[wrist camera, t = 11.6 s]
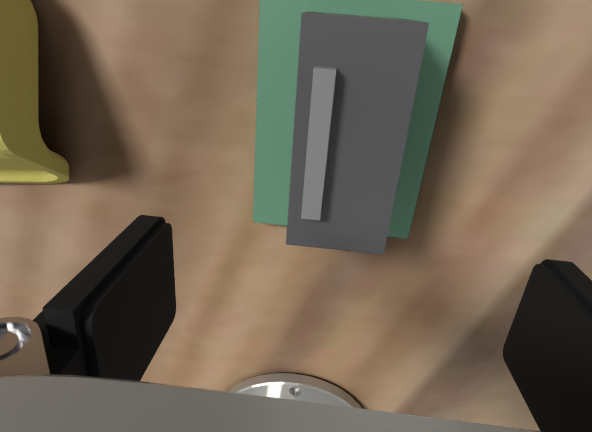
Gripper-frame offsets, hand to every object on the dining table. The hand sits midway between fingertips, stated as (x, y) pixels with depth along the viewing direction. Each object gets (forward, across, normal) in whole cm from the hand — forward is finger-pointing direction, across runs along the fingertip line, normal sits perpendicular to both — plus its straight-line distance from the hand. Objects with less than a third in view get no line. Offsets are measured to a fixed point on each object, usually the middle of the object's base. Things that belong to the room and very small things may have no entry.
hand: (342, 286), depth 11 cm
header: (+13, 0, -2) cm, 13 cm away
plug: (+12, 0, -2) cm, 12 cm away
